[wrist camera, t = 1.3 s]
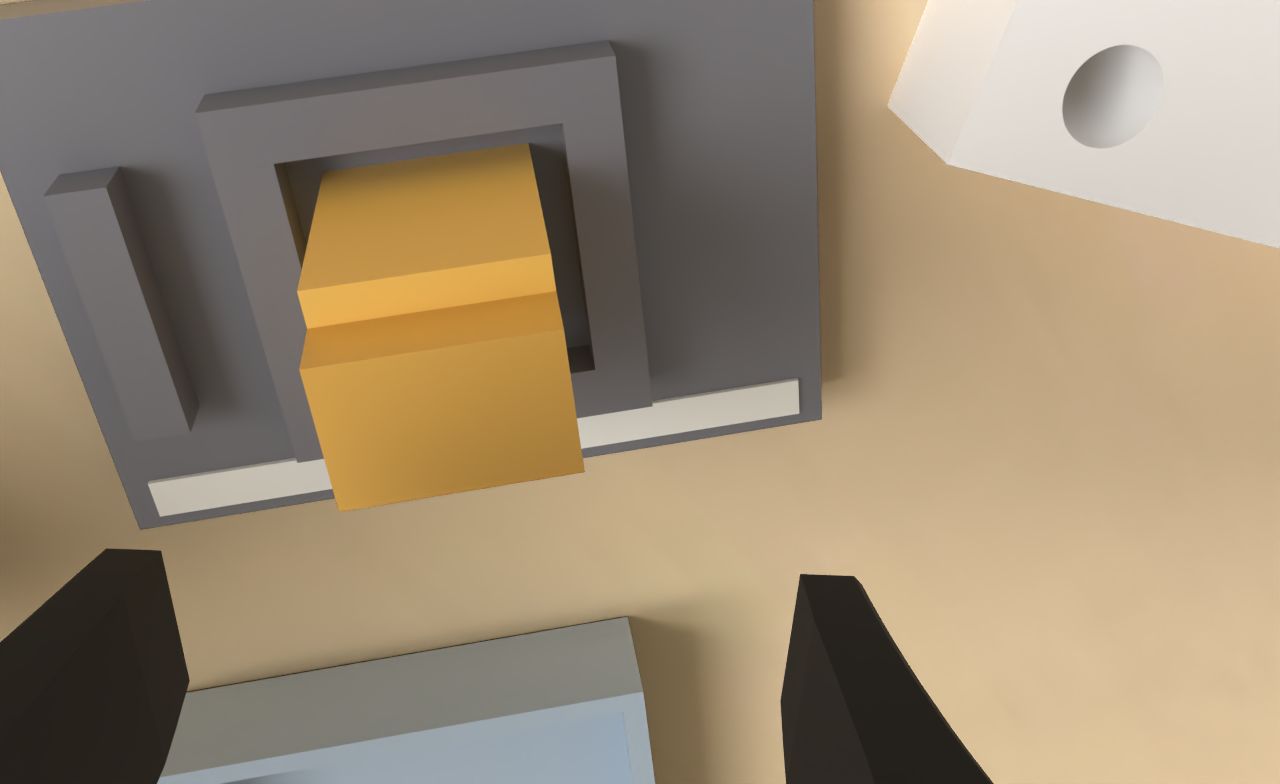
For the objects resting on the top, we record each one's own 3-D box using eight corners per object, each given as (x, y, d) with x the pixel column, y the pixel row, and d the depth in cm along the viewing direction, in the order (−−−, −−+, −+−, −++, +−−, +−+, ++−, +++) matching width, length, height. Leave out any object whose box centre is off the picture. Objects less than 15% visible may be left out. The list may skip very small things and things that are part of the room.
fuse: (367, 350, 23) (348, 544, 18) (322, 171, 21) (288, 330, 16) (554, 322, 23) (589, 504, 18) (528, 142, 21) (558, 289, 16)
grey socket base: (151, 495, 25) (129, 560, 23) (-32, 9, 20) (-79, 43, 18) (806, 390, 26) (835, 445, 24) (793, -97, 21) (828, -75, 19)
